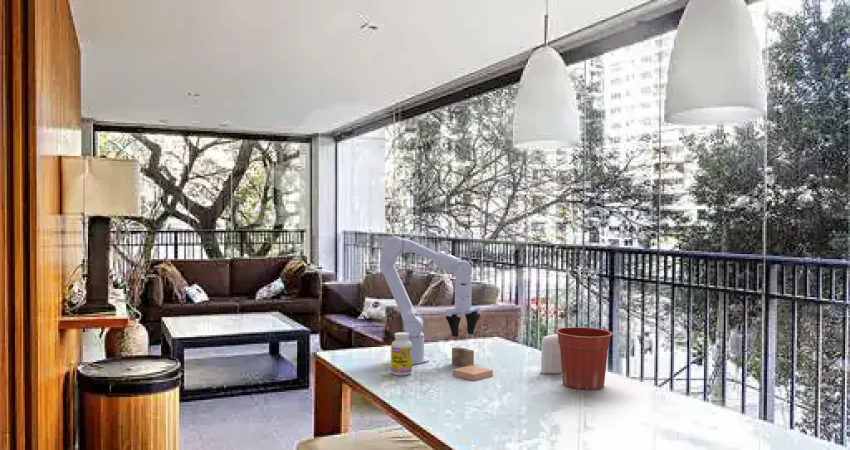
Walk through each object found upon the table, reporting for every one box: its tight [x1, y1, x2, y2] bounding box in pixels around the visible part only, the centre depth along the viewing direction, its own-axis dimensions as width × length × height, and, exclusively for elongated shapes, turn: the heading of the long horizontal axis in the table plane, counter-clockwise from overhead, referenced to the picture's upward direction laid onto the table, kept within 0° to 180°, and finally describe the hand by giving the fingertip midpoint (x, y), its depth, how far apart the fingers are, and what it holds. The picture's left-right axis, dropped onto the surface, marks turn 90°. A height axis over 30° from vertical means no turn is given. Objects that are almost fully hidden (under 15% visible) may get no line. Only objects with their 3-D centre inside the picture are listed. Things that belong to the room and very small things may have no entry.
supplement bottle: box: [390, 331, 413, 377], centre depth 209 cm, size 7×7×13 cm
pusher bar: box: [451, 346, 475, 367], centre depth 221 cm, size 8×2×6 cm, turn 42°
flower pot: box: [555, 326, 613, 391], centre depth 196 cm, size 16×16×16 cm
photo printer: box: [540, 333, 562, 374], centre depth 212 cm, size 10×4×12 cm, turn 98°
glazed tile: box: [452, 365, 494, 382], centre depth 207 cm, size 2×9×9 cm
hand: (462, 335), depth 226 cm, fingers open, 7 cm apart
